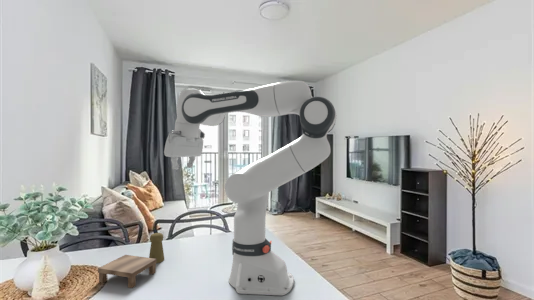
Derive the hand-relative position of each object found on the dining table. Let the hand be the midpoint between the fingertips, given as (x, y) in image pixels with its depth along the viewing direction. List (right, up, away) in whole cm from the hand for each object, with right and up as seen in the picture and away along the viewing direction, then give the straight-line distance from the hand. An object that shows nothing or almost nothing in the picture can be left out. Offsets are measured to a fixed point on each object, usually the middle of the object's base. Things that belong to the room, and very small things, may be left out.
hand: (182, 168), depth 101 cm
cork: (-13, -39, +9) cm, 42 cm away
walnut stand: (-17, -38, -6) cm, 43 cm away
